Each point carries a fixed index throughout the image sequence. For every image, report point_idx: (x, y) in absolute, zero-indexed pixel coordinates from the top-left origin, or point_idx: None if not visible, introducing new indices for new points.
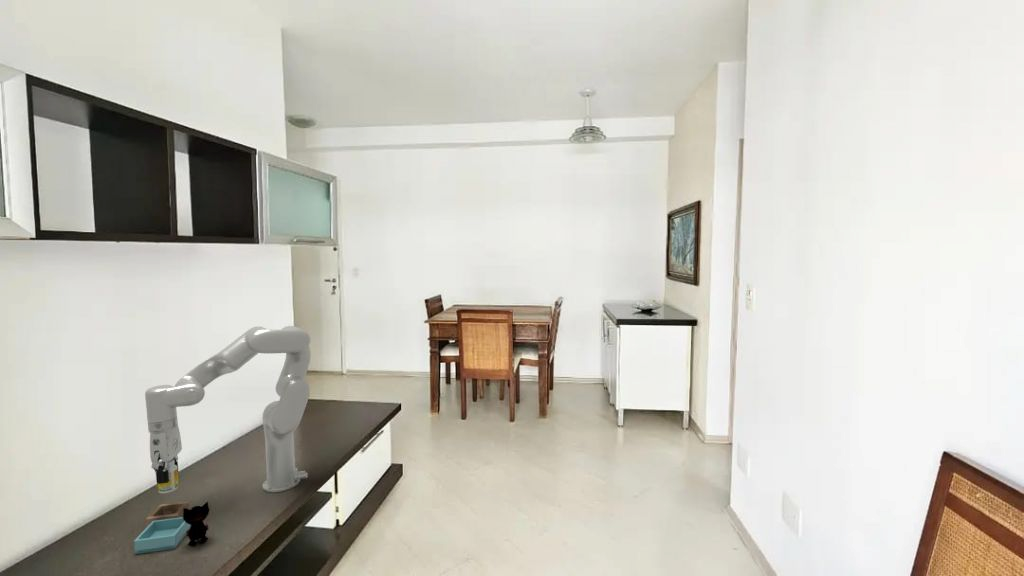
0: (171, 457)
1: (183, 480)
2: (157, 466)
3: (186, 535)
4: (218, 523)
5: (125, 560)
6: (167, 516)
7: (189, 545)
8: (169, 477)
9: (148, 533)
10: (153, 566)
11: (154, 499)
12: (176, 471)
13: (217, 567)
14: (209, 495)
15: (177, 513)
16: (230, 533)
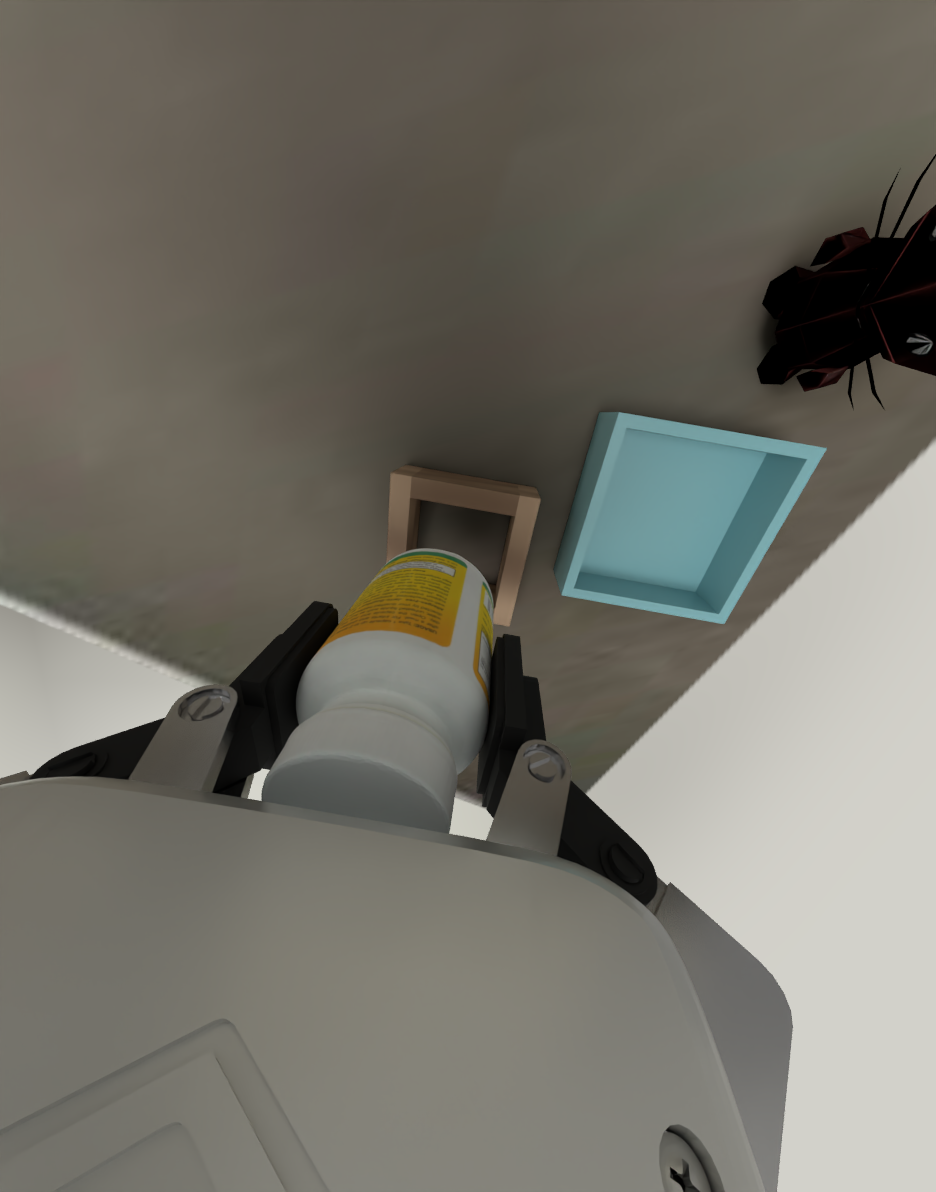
0: (521, 919)
1: (99, 566)
2: (718, 951)
3: (826, 382)
4: (632, 239)
5: None
6: (529, 543)
7: (798, 371)
8: (482, 649)
9: (619, 586)
10: (867, 501)
11: (261, 631)
12: (415, 621)
13: None
14: (256, 399)
15: (520, 501)
16: (847, 81)
